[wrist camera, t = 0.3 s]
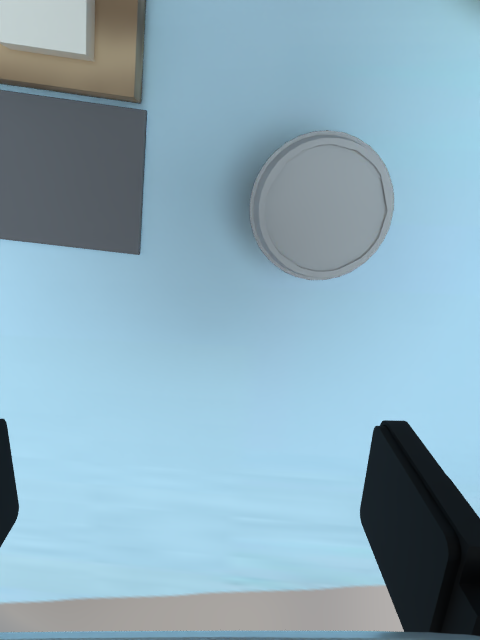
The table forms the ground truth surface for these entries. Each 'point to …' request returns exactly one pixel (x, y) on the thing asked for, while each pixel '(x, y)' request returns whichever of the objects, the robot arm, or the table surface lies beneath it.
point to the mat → (71, 172)
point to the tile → (49, 27)
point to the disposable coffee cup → (321, 205)
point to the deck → (87, 76)
